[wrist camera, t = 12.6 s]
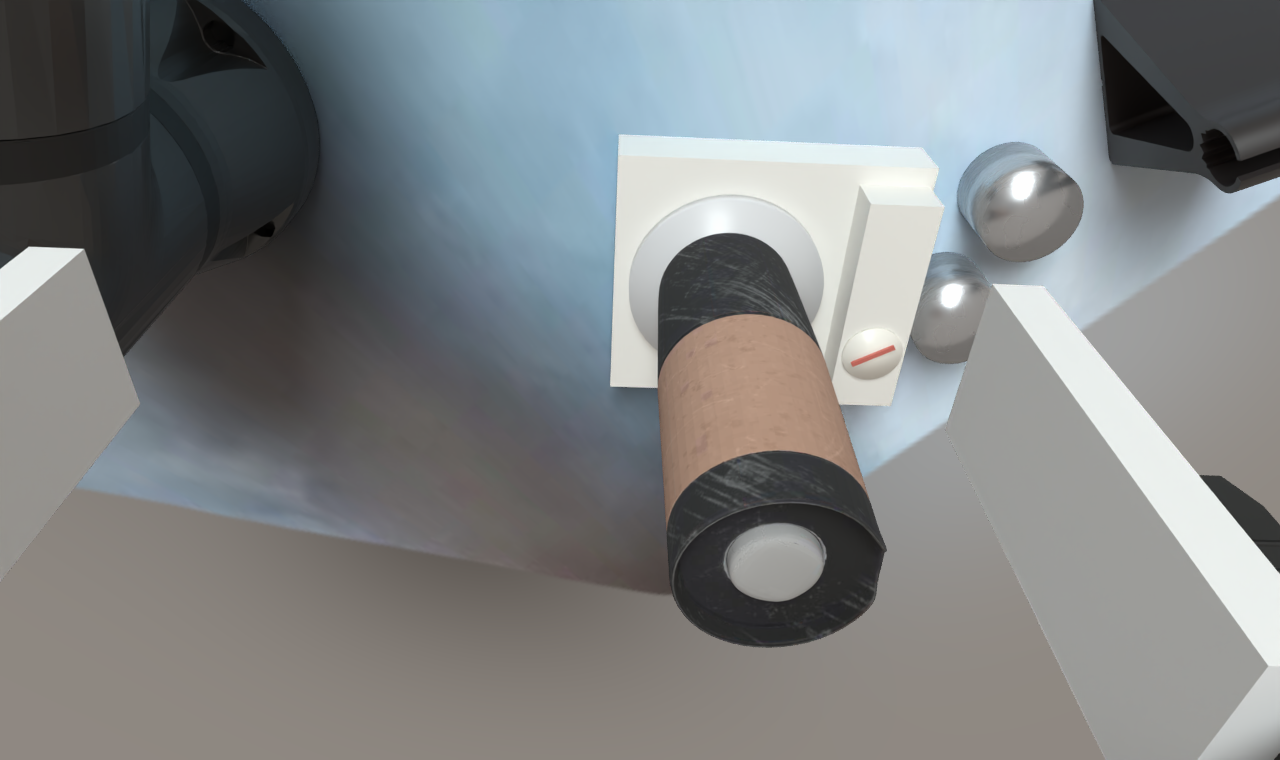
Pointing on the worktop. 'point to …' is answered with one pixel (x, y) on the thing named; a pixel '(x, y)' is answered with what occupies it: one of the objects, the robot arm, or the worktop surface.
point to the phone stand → (1193, 87)
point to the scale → (782, 242)
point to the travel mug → (756, 455)
